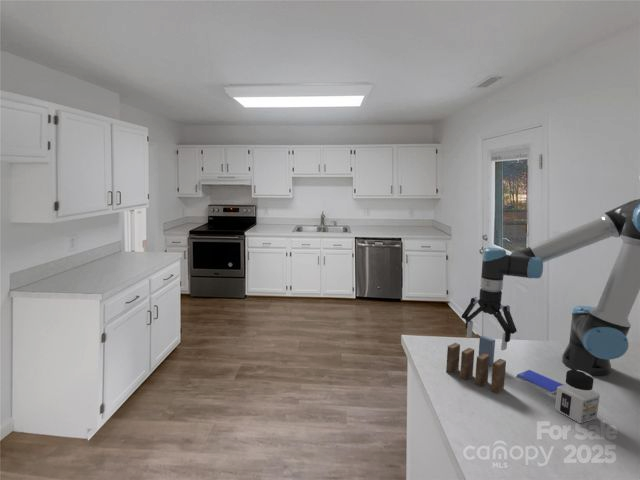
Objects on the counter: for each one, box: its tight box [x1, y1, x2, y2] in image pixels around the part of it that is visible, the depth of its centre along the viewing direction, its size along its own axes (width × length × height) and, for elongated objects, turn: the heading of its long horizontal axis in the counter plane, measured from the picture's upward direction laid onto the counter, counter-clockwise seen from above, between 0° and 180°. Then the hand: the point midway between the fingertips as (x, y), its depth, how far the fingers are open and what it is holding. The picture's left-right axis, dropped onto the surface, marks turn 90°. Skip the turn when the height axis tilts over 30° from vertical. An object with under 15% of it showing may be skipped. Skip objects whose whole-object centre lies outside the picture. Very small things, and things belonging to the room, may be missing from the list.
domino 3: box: [474, 353, 490, 388], centre depth 127 cm, size 2×5×10 cm, turn 130°
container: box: [554, 369, 601, 424], centre depth 109 cm, size 8×8×13 cm
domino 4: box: [490, 358, 507, 395], centre depth 122 cm, size 2×5×10 cm, turn 130°
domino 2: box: [459, 347, 475, 381], centre depth 131 cm, size 2×5×10 cm, turn 130°
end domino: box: [478, 335, 496, 367], centre depth 142 cm, size 2×5×10 cm, turn 39°
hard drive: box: [515, 369, 565, 395], centre depth 128 cm, size 2×8×12 cm
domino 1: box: [445, 342, 461, 375], centre depth 135 cm, size 2×5×10 cm, turn 130°
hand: (485, 343), depth 141 cm, fingers open, 13 cm apart
